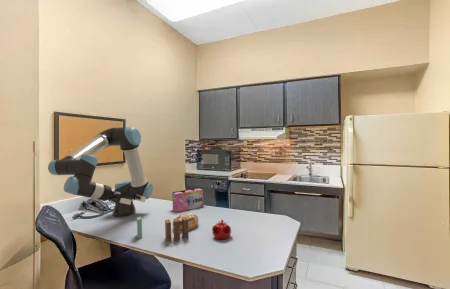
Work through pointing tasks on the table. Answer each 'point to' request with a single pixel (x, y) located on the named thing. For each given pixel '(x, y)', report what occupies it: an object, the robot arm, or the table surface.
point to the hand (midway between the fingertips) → (137, 201)
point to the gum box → (187, 199)
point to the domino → (139, 227)
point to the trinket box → (191, 220)
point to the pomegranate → (221, 230)
